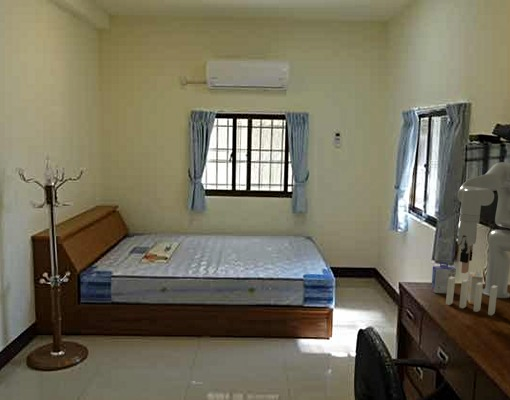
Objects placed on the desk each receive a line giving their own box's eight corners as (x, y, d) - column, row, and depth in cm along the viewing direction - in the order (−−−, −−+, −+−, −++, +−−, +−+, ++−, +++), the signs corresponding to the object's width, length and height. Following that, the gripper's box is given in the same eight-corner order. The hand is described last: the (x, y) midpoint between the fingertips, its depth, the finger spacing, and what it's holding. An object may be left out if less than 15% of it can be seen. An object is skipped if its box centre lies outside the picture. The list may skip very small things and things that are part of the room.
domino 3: (462, 305, 232) (465, 279, 230) (466, 306, 231) (468, 280, 229) (459, 307, 228) (461, 281, 227) (462, 308, 227) (465, 281, 226)
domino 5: (490, 312, 224) (493, 285, 223) (494, 313, 223) (497, 286, 222) (487, 314, 221) (490, 287, 219) (491, 315, 220) (494, 288, 218)
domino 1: (449, 302, 236) (451, 276, 234) (452, 303, 235) (455, 277, 233) (445, 304, 232) (448, 278, 231) (449, 305, 231) (451, 279, 230)
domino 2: (464, 270, 221) (467, 243, 219) (468, 271, 220) (470, 243, 218) (461, 272, 217) (463, 244, 216) (465, 273, 216) (467, 245, 215)
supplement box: (480, 305, 233) (483, 277, 231) (469, 304, 234) (472, 276, 232) (476, 299, 241) (479, 272, 239) (465, 298, 242) (468, 271, 240)
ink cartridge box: (450, 290, 254) (453, 261, 252) (454, 294, 249) (457, 264, 247) (430, 289, 254) (432, 260, 252) (433, 293, 249) (436, 263, 247)
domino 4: (476, 308, 228) (479, 282, 227) (480, 309, 227) (483, 283, 226) (473, 310, 225) (476, 284, 223) (477, 311, 224) (479, 284, 222)
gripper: (466, 215, 224) (462, 256, 227) (453, 219, 211) (450, 263, 214) (484, 217, 220) (480, 259, 222) (473, 221, 207) (468, 266, 209)
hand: (465, 260), depth 218 cm, fingers closed on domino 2, 4 cm apart
